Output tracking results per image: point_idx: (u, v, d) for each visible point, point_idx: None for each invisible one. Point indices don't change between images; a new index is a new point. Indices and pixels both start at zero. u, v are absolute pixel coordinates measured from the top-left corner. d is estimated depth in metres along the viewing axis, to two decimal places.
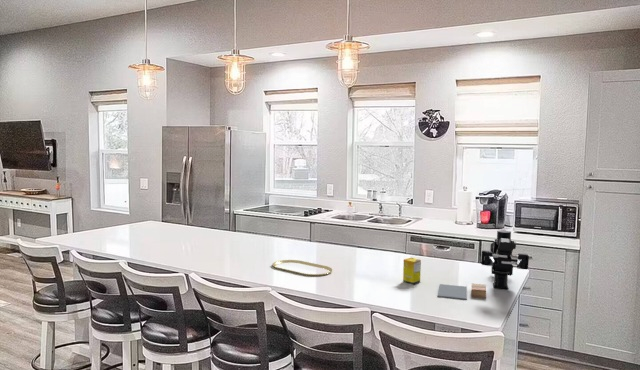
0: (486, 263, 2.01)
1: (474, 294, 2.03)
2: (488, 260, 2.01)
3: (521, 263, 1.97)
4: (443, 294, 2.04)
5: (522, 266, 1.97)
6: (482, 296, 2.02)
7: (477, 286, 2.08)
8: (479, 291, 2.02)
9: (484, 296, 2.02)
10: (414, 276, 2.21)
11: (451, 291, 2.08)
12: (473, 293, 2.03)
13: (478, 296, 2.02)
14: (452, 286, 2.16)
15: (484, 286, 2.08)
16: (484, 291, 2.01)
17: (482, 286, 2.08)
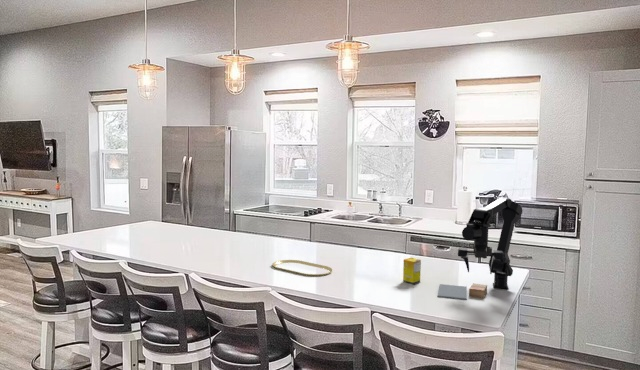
0: None
1: (472, 293, 2.03)
2: None
3: None
4: (443, 294, 2.04)
5: None
6: (480, 296, 2.02)
7: (477, 286, 2.08)
8: (477, 291, 2.02)
9: (481, 296, 2.02)
10: (414, 276, 2.21)
11: (451, 291, 2.08)
12: (471, 293, 2.04)
13: (476, 296, 2.03)
14: (452, 286, 2.16)
15: (484, 286, 2.08)
16: (482, 291, 2.01)
17: (482, 286, 2.08)
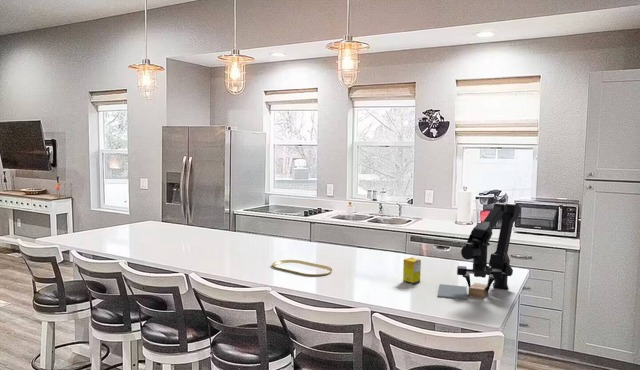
0: None
1: (471, 293, 2.04)
2: None
3: None
4: (443, 294, 2.04)
5: None
6: (479, 295, 2.02)
7: (478, 285, 2.08)
8: (476, 290, 2.02)
9: (481, 295, 2.01)
10: (414, 276, 2.21)
11: (451, 291, 2.08)
12: (470, 292, 2.04)
13: (475, 295, 2.03)
14: (452, 286, 2.16)
15: (485, 286, 2.07)
16: (481, 290, 2.01)
17: (483, 286, 2.07)
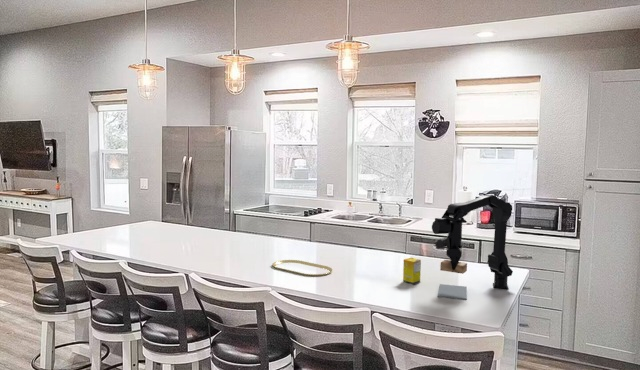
0: None
1: None
2: None
3: None
4: (443, 294, 2.04)
5: (458, 256, 2.02)
6: None
7: None
8: None
9: None
10: (414, 276, 2.21)
11: (451, 291, 2.08)
12: None
13: None
14: (452, 286, 2.16)
15: None
16: None
17: (457, 264, 2.06)
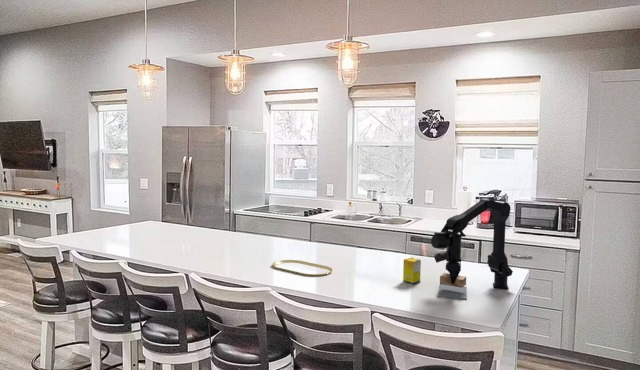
0: None
1: None
2: None
3: None
4: (443, 294, 2.04)
5: (457, 270, 2.02)
6: None
7: None
8: None
9: None
10: (414, 276, 2.21)
11: (451, 291, 2.08)
12: None
13: None
14: (452, 286, 2.16)
15: None
16: None
17: None
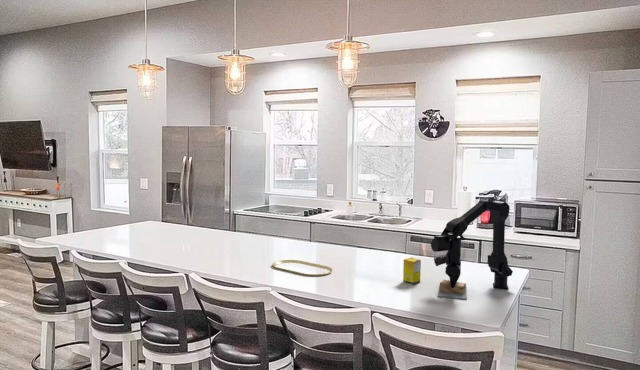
0: None
1: None
2: None
3: None
4: (443, 294, 2.04)
5: None
6: None
7: None
8: None
9: None
10: (414, 276, 2.21)
11: None
12: None
13: None
14: None
15: (455, 285, 2.06)
16: None
17: (456, 284, 2.07)
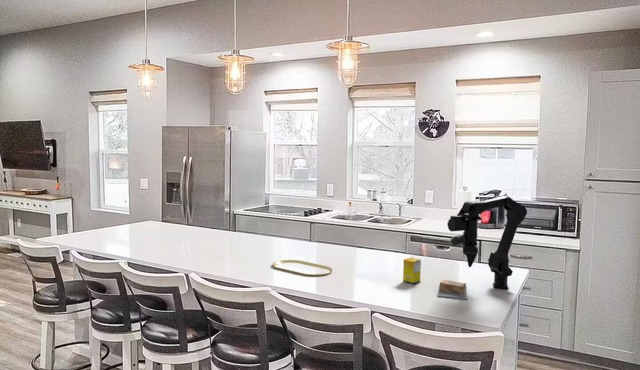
0: None
1: None
2: None
3: None
4: (443, 294, 2.04)
5: None
6: None
7: (455, 283, 2.09)
8: None
9: None
10: (414, 276, 2.21)
11: None
12: None
13: None
14: None
15: (455, 285, 2.06)
16: None
17: (456, 284, 2.07)
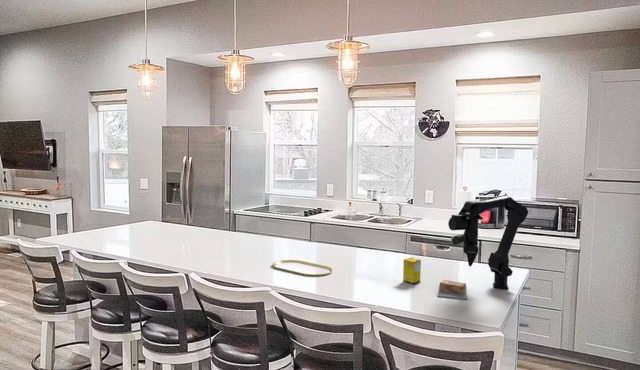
0: None
1: None
2: None
3: None
4: (443, 294, 2.04)
5: None
6: None
7: (455, 283, 2.09)
8: None
9: None
10: (414, 276, 2.21)
11: None
12: None
13: None
14: None
15: (455, 285, 2.06)
16: None
17: (456, 284, 2.07)
